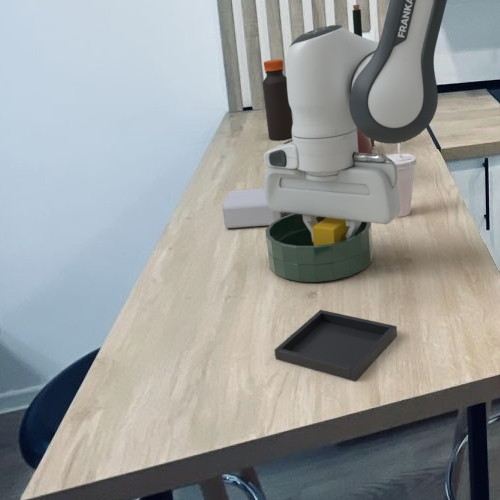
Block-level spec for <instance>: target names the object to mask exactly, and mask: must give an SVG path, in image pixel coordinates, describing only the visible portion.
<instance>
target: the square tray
mask: <svg viewBox="0 0 500 500" xmlns="http://www.w3.org/2000/svg"><path fill="white" fill-rule="evenodd" d="M397 336H398V326H397V325H392V324H389V323H383V322H379V321H374V320H371V319H365V318H360V317H356V316H352V315H347V314H342V313H339V312H333V311H328V310H325V309H324V310H323V309H319V310H318V311H317V312H316V313H315V314H314V315H313V316H311V318H309V319H308V320H307V321H306V322H304V323H303V324H302V325H301V326H300V327H298V328H297V329H296V330H295V331H294V332H293V333H292V334H290V336H289V337H287V338H286V339H285V340H283V342H281V343H280V344H279V345H278V346H277V347H276V348H274V350H273V351H274V357H275V360H277V361H281V362H285V363H288V364H291V365H295V366H298V367H303V368H306V369H309V370H313V371H316V372H320V373H324V374H327V375H330V376H335V377H338V378H342V379H344V380H348V381H352V382H357V381H358V379H360V377H362V375H363V374H364V373H365V372H366V371H367V370H368V369H369V368H370V366H372V364H373V363H374V362H375V361H376V360H377V359H378V358H379V356H380V355H381V354H382V353H383V352H384V351H385V350H386V349H387V347H389V345H391V343H392V342H393V341H394V340H395V339H396V338H397Z"/></svg>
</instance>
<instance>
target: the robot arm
mask: <svg viewBox="0 0 500 500" xmlns="http://www.w3.org/2000/svg"><path fill="white" fill-rule="evenodd" d="M447 3H448V0H388V2H387V7H386V12H385V14H384V15H385V16H384V21H383V24H382V29H381V34H380V38H379V41H375V40H371V39H368V38H366V37H363V36H362V37H361V36H358V35H356V34H354V32H352V31H350V30H349V29H347V28H346V27H345V26H344V25H339V24H332V25H328V26H327V25H326V26H322V27H319V28H315V29H313V30H310V31H306V32H305V33H302V34H300V35H299V36H297V37H296V38H295V39H294V40H293V41H292V43H290V45H289V47H288V49H287V51H286V52H287V53H286V64H285V65H286V67H285V69H286V71H285V72H286V75H285V76H286V77H287V92H288V101H289V105H290V107H291V110H292V120H293V125H292V138H291V139H289V140H287V141H285V142H282V143H281V144H278V145H276V146H274V147H272V148H271V149H269V150H267V151H265V152H264V153H263V162H264V165H265V166H266V167H267V168H266V169H265V171H264V174H263V188H264V189H265V198H266V203H267V205H268V206H269V208H270V209H271V210H272V211H277V212H285V213H284V214H293V213H294V214H302V215H303V221H304V223H305V225H306V226H307V228H308V229H309V231H310V232H311V236H312V242H314V240H313V229H312V227H313V226H315V225H316V224H318V221H317V220H316V218H317V217H318V216H319V217H328V218H336V219H345V220H346V226H350V228H349V230H348V232H346V233H344V234H343V235H342V236H341V241H345V240H347V239H350V238H352V237H354V236H355V233H356V232H357V230H358V228H359V226H360V224H361V223H362V222H370V223H371V224H377V225H378V224H379V225H388V224H390V223H391V222H392V221H394V220H395V219H396V218H398V217H397V216H398V214H399V213H400V210H401V206H400V197H399V191H398V186H397V179H398V175H397V166H396V164H395V163H394V162H393V161H392V160H391V159H389V158H387V156H386V155H387V154H382V153H376V154H374V153H373V154H367V153H358V139H357V128H358V129H359V130H360V131H361V132H362V133H363V134H364V135H365V136H367V137H368V138H370V139H372V140H374V142H377V143H381V144H385V145H386V144H387V145H388V144H389V145H390V144H391V145H393V144H394V145H395V144H398V143H401V144H402V143H404V142H408V141H410V140H412V139H414V138H416V137H418V136H419V135H421V134H422V133H423V132H424V131H425V130H426V129H427V128H428V126H429V125H430V124H431V122H432V121H433V119H434V117H435V115H436V112H437V108H438V102H439V101H438V100H439V91H438V85H437V79H436V72H435V53H436V47H437V43H438V38H439V35H440V30H441V27H442V23H443V19H444V15H445V10H446V5H447ZM386 161H388V162H386Z"/></svg>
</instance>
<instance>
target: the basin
mask: <svg viewBox="0 0 500 500" xmlns="http://www.w3.org/2000/svg"><path fill="white" fill-rule="evenodd" d="M325 218H327V217H319V216H318V217H317V218H316V220H317V221H318V223H319V222H321V221H322V220H324V219H325ZM265 241H266V248H267V256H268V261H269V262H268V264H269V269H270V270H271V271H272V272H273V273H274V274H275V275H277V276H279V277H282V278H284V279H286V280H290V281H295V282H304V283H305V282H306V283H316V282H317V283H321V282H329V281H336V280H340V279H344V278H347V277H351V276H353V275H355V274H357V273H359V272H362V271H363V270H365V269H366V268H367V267H368V266H370V264H371V263H372V261H373V258H374V249H373V248H374V247H373V233H372V223H370V222H362V223H361V224H360V226H359V228H358V230H357V232H356V233H355V236H354V237H352V238H350V239H347V240H345V241H341V242H337V243H333V244H327V245H318V246H314V242H312V236H311V232H310V231H309V229H308V228H307V226H306V225H305V223H304V221H303V215H302V214H294V213H289V214H287V215H285V216H281V218H279V219H278V220H276V221H274V222H273V223H271V224H270V225H267V228H266V229H265Z"/></svg>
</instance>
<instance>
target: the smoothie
mask: <svg viewBox="0 0 500 500" xmlns="http://www.w3.org/2000/svg"><path fill="white" fill-rule="evenodd" d="M385 155H386V156H387V158H389V159H391V160H392V161H393V162H394V163H395V164H396V166H397V175H398V179H397V186H398V191H399V197H400V206H401V210H400V213H399V214H398V216H397V217H396V218H402V217H407V216H409V215H410V214H411V209H412V199H413V187H414V178H415V177H414V176H415V168H416V165H417V164H418V162H417V156H416V155H414V154H411V153H402V142H401V143H397V153H393V154H385ZM386 162H388V161H386Z"/></svg>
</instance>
